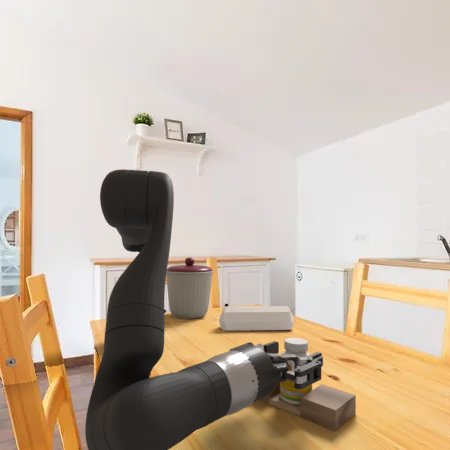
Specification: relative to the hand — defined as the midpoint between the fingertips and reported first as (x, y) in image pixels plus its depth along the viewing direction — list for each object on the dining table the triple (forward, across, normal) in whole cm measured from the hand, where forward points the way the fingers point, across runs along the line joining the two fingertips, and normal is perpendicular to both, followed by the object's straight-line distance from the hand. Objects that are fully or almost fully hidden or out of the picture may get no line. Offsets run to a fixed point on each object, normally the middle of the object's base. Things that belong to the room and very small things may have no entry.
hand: (297, 352), depth 60 cm
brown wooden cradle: (0, 0, +8) cm, 8 cm away
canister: (+30, +64, +8) cm, 71 cm away
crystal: (+34, +35, +9) cm, 50 cm away
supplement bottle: (0, 0, +8) cm, 8 cm away
